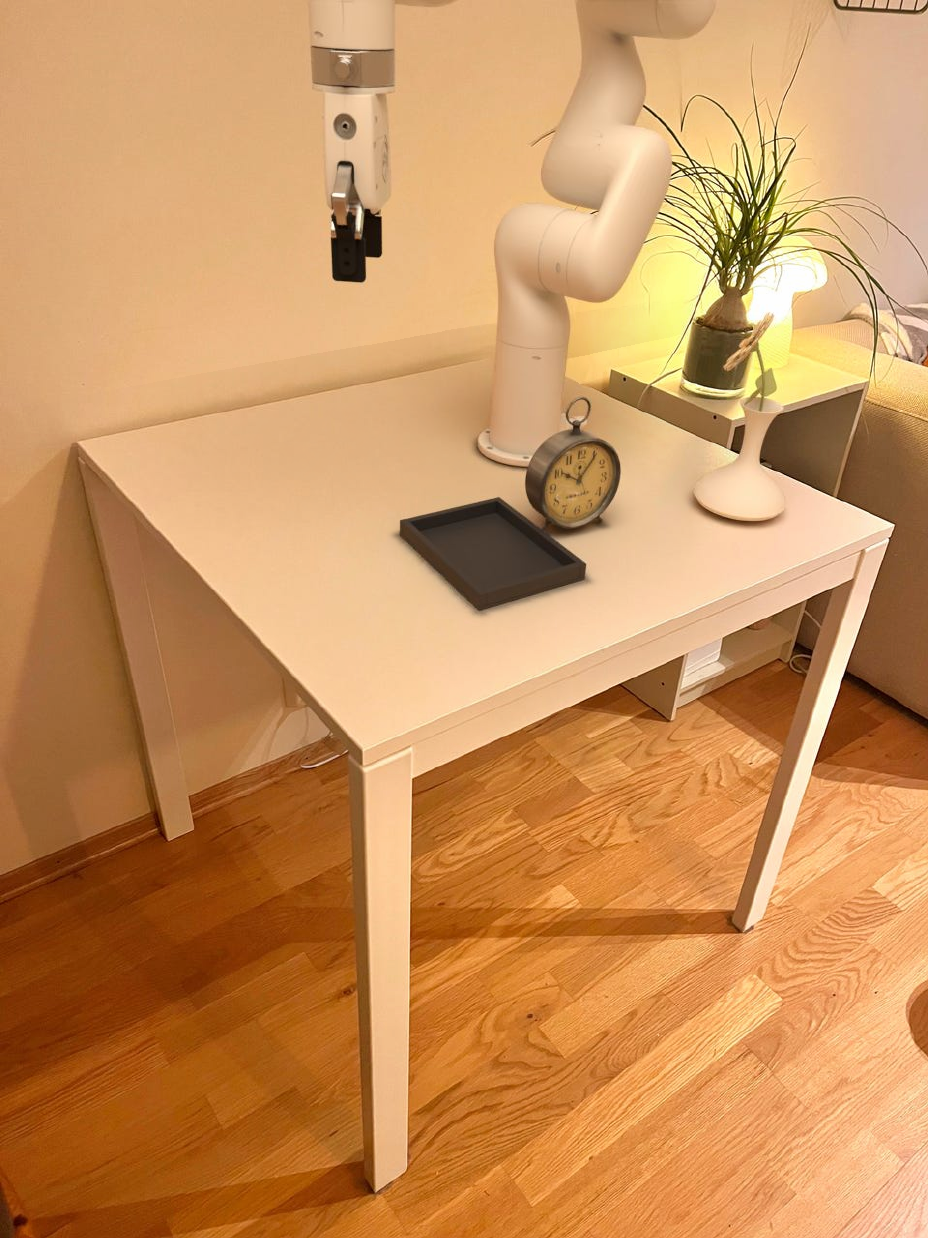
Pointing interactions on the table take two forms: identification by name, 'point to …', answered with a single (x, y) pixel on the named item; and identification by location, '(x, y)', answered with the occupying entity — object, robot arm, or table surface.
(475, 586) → the tray
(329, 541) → the table surface
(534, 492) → the alarm clock
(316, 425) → the table surface
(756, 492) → the flower in vase
